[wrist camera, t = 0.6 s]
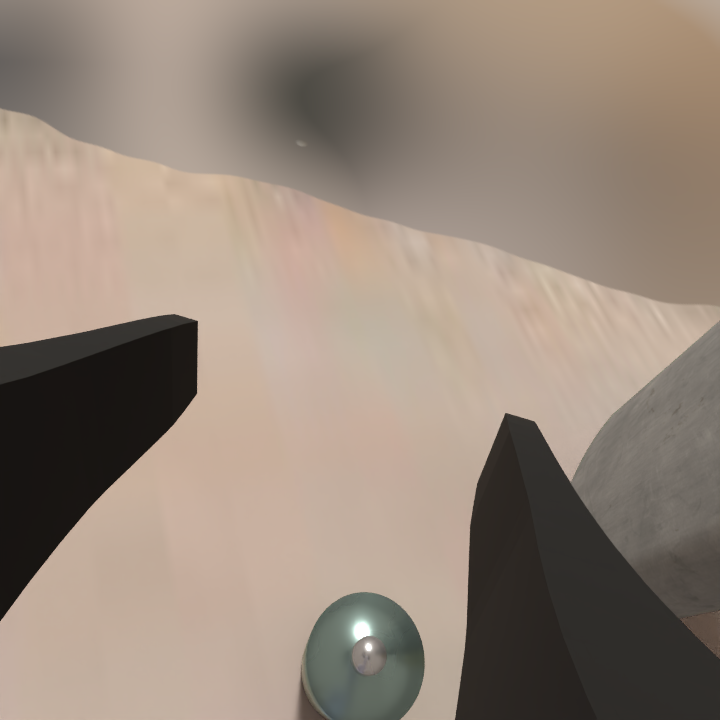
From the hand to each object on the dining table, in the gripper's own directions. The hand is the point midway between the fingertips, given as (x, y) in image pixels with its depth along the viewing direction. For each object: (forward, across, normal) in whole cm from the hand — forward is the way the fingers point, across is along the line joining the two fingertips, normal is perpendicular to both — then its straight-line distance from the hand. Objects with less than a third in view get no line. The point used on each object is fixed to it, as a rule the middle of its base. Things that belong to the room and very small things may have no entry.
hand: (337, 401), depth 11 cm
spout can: (+4, -2, +17) cm, 18 cm away
